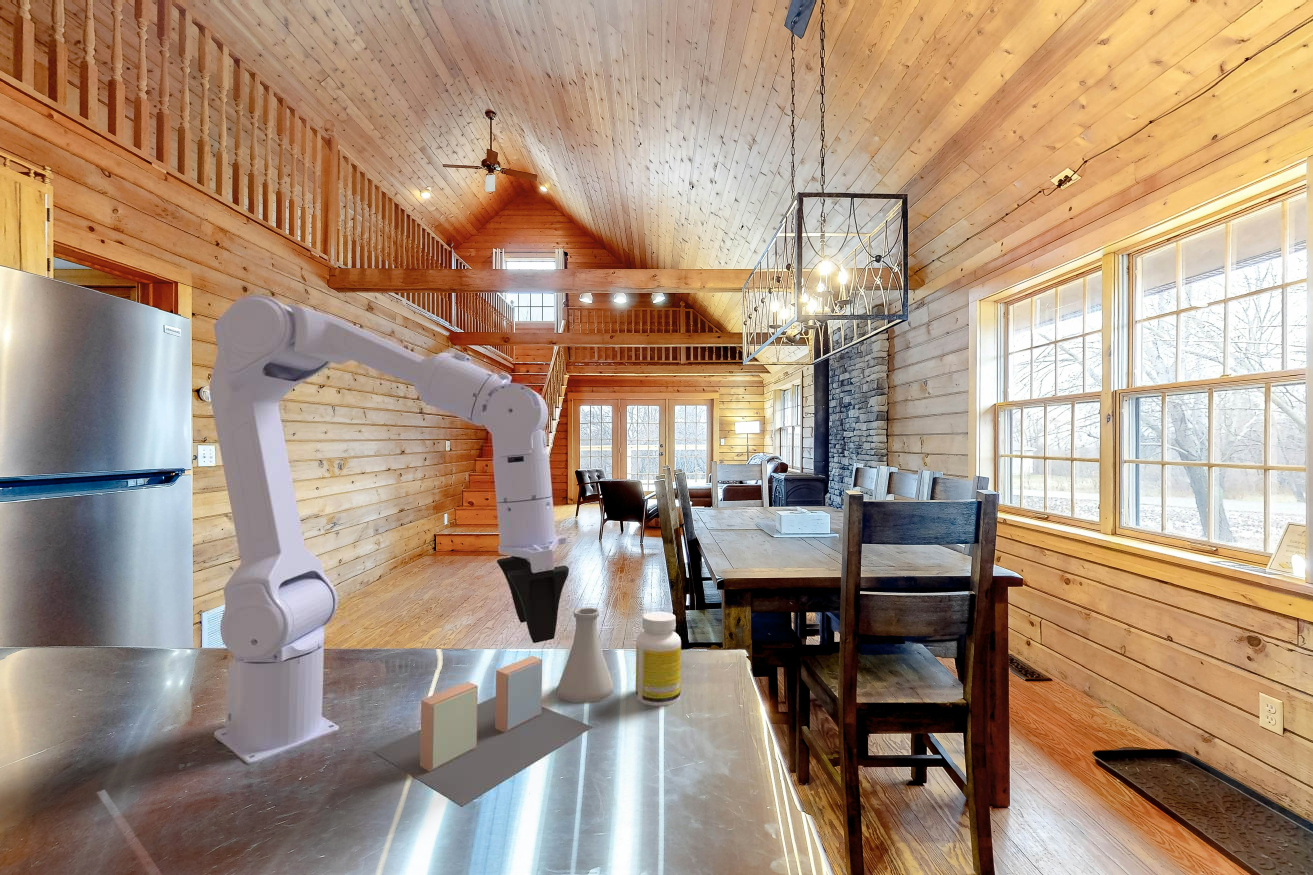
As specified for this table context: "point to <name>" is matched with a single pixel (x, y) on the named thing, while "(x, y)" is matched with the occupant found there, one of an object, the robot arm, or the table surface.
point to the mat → (486, 753)
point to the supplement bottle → (658, 660)
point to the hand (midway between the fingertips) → (535, 629)
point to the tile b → (518, 693)
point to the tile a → (448, 725)
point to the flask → (585, 663)
